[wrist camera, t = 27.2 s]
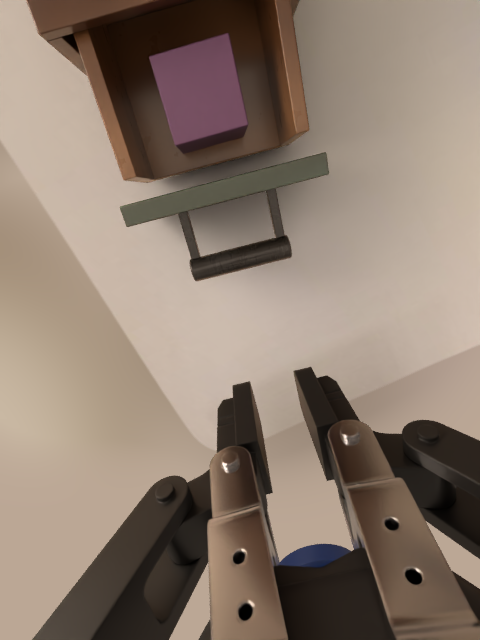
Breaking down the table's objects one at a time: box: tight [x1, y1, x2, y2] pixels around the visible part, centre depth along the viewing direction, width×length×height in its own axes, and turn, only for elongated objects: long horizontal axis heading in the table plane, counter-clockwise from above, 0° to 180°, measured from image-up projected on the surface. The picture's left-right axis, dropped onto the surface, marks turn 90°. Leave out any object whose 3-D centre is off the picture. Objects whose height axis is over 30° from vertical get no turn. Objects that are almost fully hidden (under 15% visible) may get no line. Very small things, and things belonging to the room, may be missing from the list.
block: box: [149, 33, 248, 154], centre depth 21 cm, size 4×4×4 cm
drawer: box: [73, 0, 329, 281], centre depth 22 cm, size 17×12×7 cm
